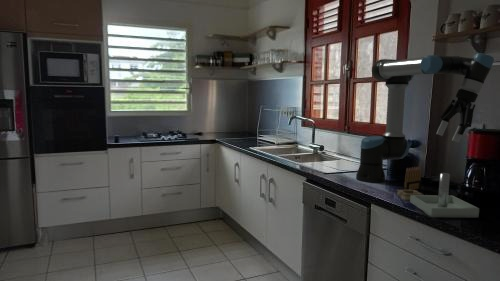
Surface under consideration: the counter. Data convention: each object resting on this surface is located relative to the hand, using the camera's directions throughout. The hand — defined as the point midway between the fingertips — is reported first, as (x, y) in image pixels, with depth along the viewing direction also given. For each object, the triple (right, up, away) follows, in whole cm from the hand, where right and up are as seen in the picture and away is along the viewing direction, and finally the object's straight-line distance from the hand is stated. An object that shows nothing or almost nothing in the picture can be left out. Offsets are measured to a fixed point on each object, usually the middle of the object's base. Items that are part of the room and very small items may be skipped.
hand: (446, 138), depth 157 cm
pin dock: (-13, -27, +6) cm, 31 cm away
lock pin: (-7, -28, -10) cm, 31 cm away
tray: (-7, -29, -10) cm, 31 cm away
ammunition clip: (-7, -26, +19) cm, 32 cm away
